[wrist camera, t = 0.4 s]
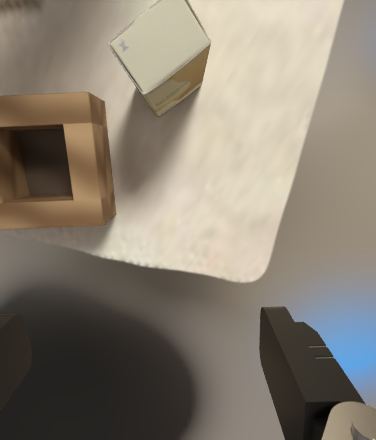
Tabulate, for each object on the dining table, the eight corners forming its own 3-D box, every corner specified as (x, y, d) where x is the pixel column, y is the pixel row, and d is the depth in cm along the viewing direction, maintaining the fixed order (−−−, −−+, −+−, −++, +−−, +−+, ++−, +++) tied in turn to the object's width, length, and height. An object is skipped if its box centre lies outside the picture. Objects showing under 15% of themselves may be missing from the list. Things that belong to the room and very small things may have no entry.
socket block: (-10, 106, 32) (-48, 98, 27) (104, 101, 32) (87, 91, 27) (12, 218, 35) (-19, 229, 30) (116, 214, 35) (103, 225, 30)
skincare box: (158, 118, 32) (139, 100, 20) (135, 84, 31) (101, 44, 19) (205, 83, 31) (214, 42, 19) (182, 47, 30) (177, -19, 19)
